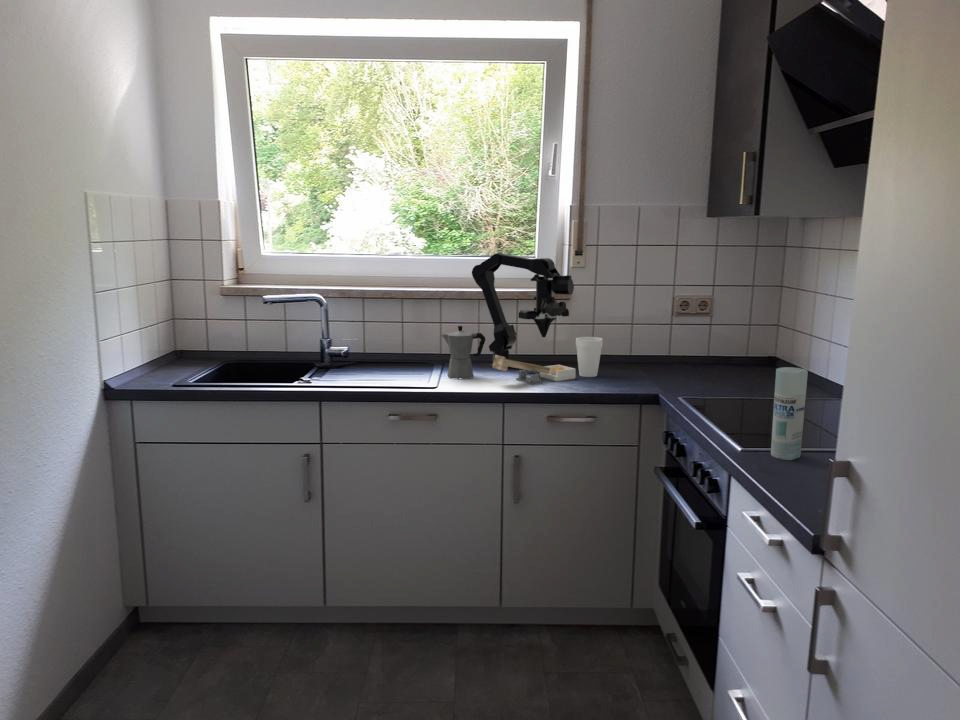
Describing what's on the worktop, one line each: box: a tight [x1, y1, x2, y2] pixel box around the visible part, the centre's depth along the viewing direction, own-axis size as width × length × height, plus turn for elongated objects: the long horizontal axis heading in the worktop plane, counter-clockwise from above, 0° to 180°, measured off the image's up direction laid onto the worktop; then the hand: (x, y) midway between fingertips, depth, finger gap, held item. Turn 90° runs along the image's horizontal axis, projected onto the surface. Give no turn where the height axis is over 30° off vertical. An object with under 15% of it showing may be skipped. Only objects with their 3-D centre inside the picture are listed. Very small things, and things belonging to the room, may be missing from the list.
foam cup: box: [575, 336, 604, 378], centre depth 255 cm, size 10×9×13 cm
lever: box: [491, 355, 550, 374], centre depth 248 cm, size 17×24×4 cm
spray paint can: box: [770, 366, 809, 461], centre depth 163 cm, size 6×6×20 cm
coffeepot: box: [441, 325, 486, 380], centre depth 252 cm, size 15×9×18 cm, turn 82°
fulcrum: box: [515, 369, 543, 385], centre depth 246 cm, size 9×4×3 cm, turn 33°
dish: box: [539, 364, 577, 382], centre depth 252 cm, size 9×9×4 cm
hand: (543, 337), depth 262 cm, fingers closed
